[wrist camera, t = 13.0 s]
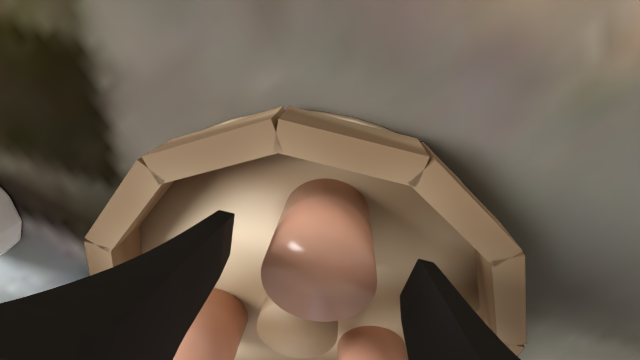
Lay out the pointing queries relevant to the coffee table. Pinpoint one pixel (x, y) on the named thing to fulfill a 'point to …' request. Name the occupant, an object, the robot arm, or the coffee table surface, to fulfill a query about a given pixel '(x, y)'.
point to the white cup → (8, 223)
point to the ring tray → (268, 203)
